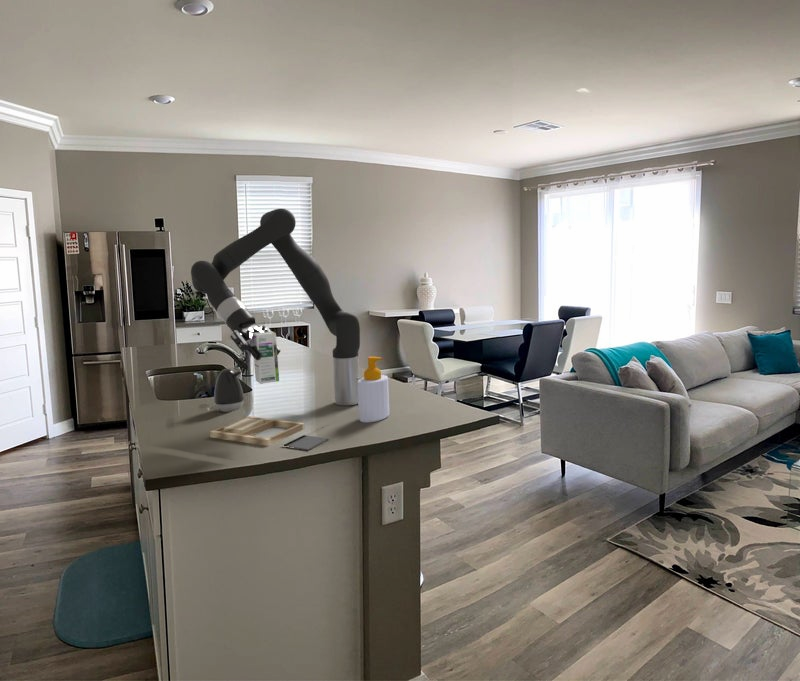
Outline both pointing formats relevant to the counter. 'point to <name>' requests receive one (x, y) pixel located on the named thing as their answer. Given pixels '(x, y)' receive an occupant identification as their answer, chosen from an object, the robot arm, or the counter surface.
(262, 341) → the syrup box
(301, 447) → the pad
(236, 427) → the offcut top
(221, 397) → the dark grey tapered dome
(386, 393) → the soap bottle
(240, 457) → the counter surface
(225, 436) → the offcut rack
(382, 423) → the counter surface
